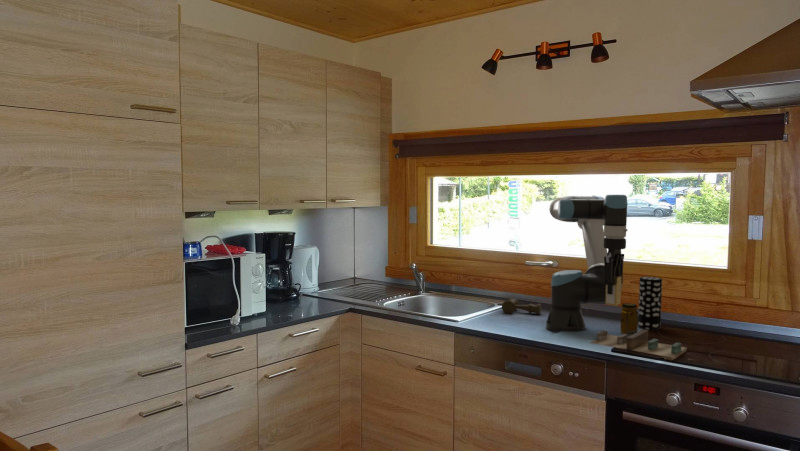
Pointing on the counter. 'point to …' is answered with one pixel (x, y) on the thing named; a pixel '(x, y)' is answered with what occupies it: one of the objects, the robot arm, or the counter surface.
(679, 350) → the lock plate
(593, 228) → the robot arm
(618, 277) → the stop bar
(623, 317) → the condiment
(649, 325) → the white-spotted black cylinder
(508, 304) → the kendama
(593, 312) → the counter surface
